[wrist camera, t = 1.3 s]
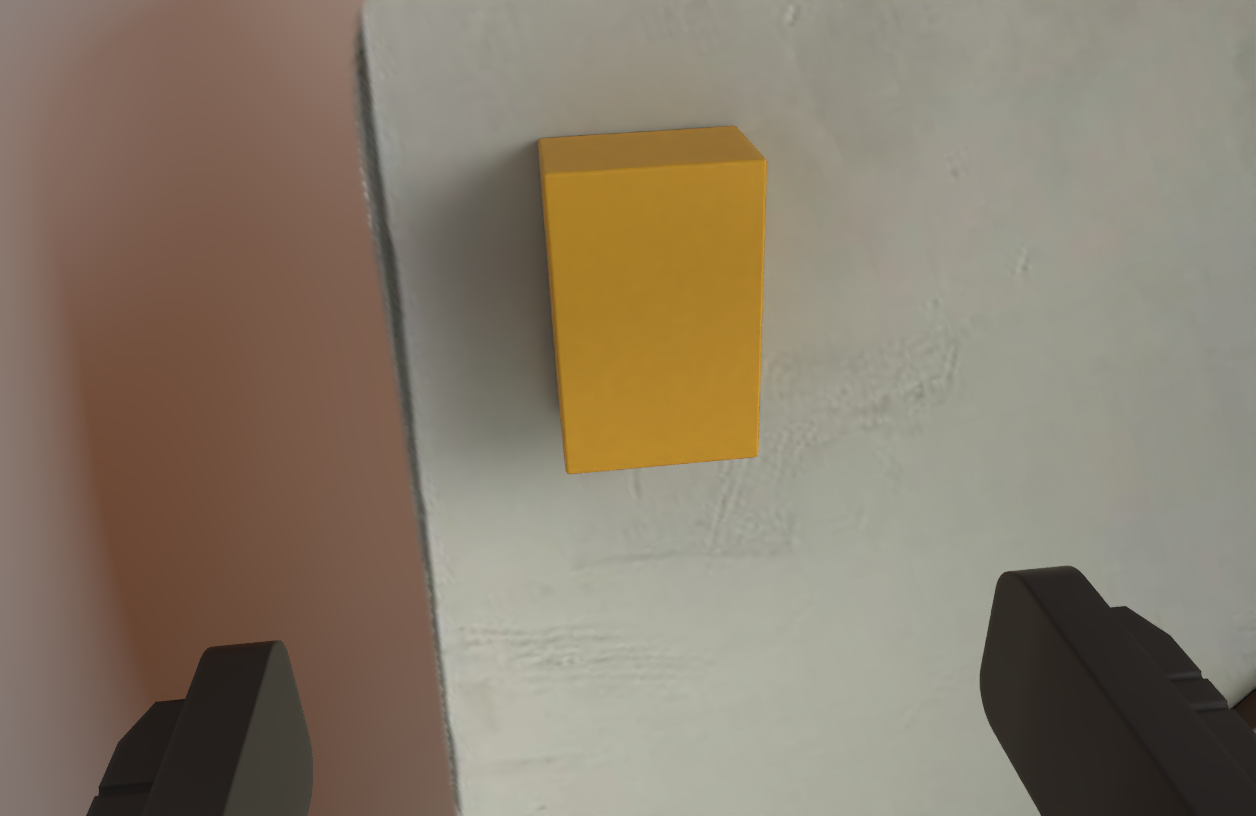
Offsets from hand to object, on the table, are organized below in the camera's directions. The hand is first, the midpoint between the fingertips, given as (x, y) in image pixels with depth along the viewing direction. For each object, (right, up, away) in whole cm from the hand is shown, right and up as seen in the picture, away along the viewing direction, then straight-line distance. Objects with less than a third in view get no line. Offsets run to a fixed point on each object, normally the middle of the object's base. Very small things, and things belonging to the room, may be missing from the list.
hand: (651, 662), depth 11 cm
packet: (0, +6, +13) cm, 14 cm away
